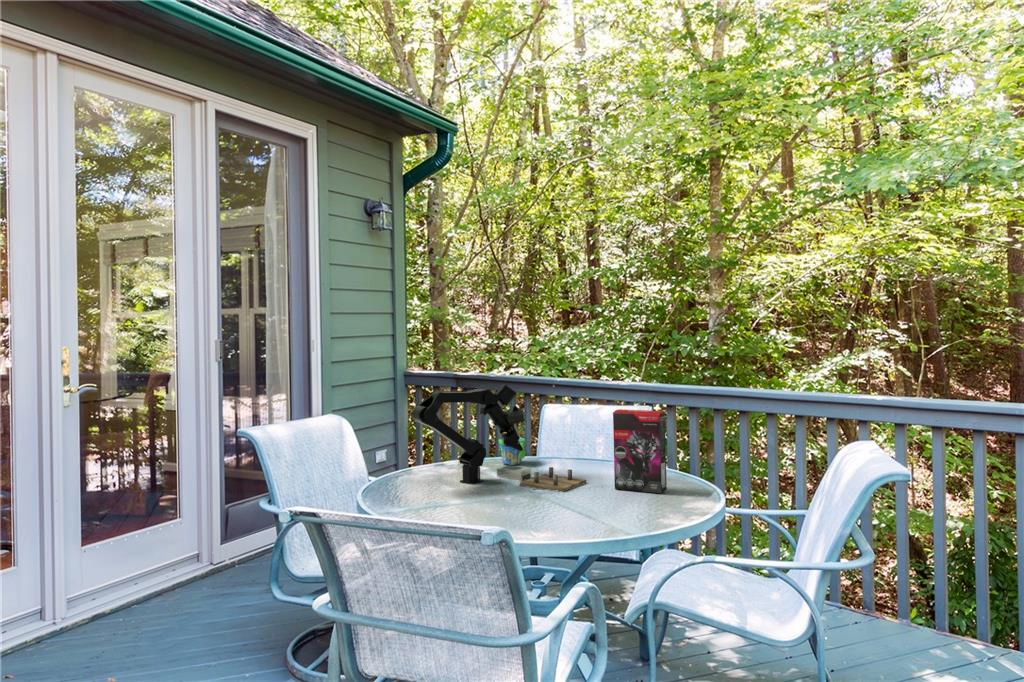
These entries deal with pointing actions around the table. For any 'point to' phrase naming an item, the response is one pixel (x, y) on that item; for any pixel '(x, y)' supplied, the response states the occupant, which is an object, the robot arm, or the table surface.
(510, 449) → the snack cup
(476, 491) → the table surface
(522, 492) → the table surface
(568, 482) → the wooden peg board
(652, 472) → the graphics card box
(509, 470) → the drive
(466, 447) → the robot arm
